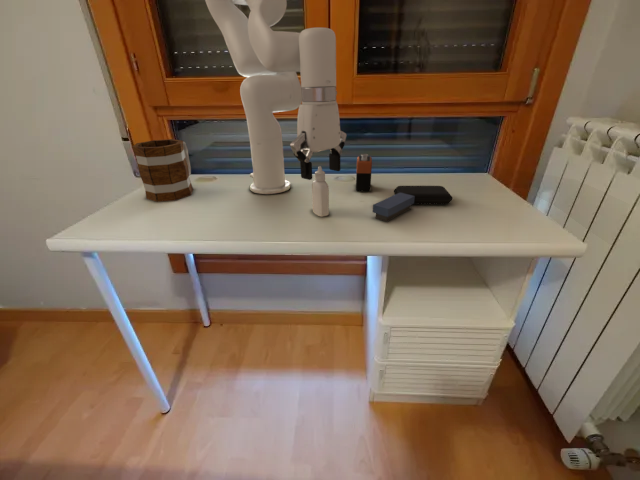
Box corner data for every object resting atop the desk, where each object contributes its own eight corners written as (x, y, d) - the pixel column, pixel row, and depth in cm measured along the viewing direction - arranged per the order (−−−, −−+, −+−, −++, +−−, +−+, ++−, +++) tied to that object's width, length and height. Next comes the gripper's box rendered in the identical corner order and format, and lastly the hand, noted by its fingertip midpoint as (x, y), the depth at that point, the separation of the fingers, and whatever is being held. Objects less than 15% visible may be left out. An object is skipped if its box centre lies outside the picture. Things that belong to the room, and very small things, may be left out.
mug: (178, 202, 90) (166, 148, 83) (135, 200, 92) (120, 148, 85) (210, 182, 107) (202, 136, 100) (174, 180, 109) (163, 135, 102)
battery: (370, 185, 101) (371, 153, 97) (370, 192, 95) (372, 158, 91) (356, 184, 102) (357, 153, 97) (355, 191, 96) (356, 158, 91)
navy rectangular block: (387, 223, 75) (388, 209, 74) (372, 218, 78) (372, 204, 76) (413, 209, 83) (415, 196, 81) (398, 205, 86) (399, 192, 84)
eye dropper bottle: (329, 208, 84) (329, 163, 79) (328, 217, 79) (328, 169, 74) (313, 208, 84) (312, 163, 79) (311, 217, 79) (309, 169, 74)
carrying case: (442, 193, 94) (391, 192, 95) (444, 182, 92) (392, 182, 93) (453, 206, 84) (397, 205, 85) (455, 195, 83) (398, 195, 84)
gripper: (333, 94, 77) (333, 165, 84) (276, 98, 66) (283, 179, 74) (357, 94, 72) (356, 169, 80) (301, 99, 61) (305, 185, 69)
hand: (321, 174), depth 77 cm, fingers open, 9 cm apart
